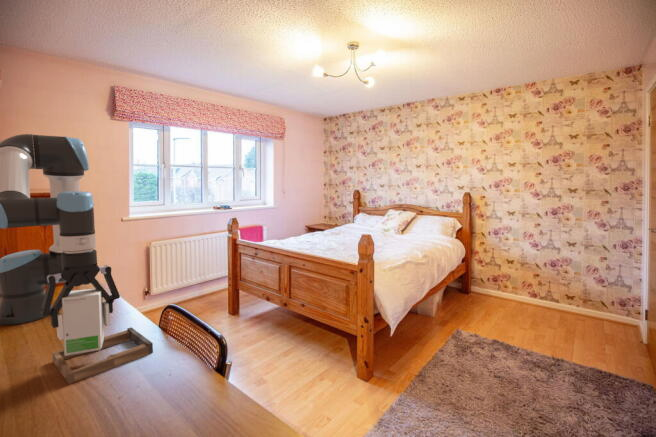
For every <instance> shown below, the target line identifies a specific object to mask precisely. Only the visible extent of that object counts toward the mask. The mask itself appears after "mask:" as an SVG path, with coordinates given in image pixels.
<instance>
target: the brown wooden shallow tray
mask: <svg viewBox="0 0 656 437" xmlns="http://www.w3.org/2000/svg"><path fill="white" fill-rule="evenodd" d="M128 341H132V343H134V344H135V345H136V346H134V347H130V348H129V349H126V350H122V351H120V352H119V351H118V352H117V353H115V354H114V353H113V354H109V355H108V356H107V357H106V358H105V359H102V360H99V361H96V362H93V363H90V364H88V365H85V366H82V367H79V368H76V369H72V368H71V367H70V365H69V364H68V363H67V361H66V360H68V359H70V358H75V357H77V356H80V355H83V354H86V353H88V352H85V353H79V354H73V355H67V356H65V355H64V349H61V350H60V349H59V350H58V351H57V350H56V351H54V352H52V354H51V355H52V362H53V364H54V365H55V366H56V368H57V370H58V371H59V372H60V374H61V375H62V377H63V378H64V380H65V381H66V382H67V383H68V385H69V384H70V385H71V384H73V383H75V382H78V381H81V380H83V379H86V378H89V377H91V376H94V375H96V374H99V373H103V372H105V371H107V370H111V369H113V368H115V367H119V366H121V365H124V364H127V363H128V362H133V361H135V360H137V359H140V358H142V357H145V356H147V355H150V354H153V353H154V348H153V347H154V346H153V342H152V341H151V340H149V339H148V338H146V337H145V336H144V335H142V334H141V333H140V332H139V331H137V330H136V329H134V328H133V327H132V326H131V327H127V328H126V330H123V331H120V332H115V333H113V334H109V335H107V336H104V341H103V344H102V348H101V350H102V349H106V348H109V347H112V346H116V345H118V344H122V343H124V342H128ZM96 352H100V350H97V351H96Z"/></svg>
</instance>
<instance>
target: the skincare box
mask: <svg viewBox="0 0 656 437" xmlns="http://www.w3.org/2000/svg"><path fill="white" fill-rule="evenodd" d="M103 300H104V299H103V297H102V294H101V291H98V290H97V289H95V288H89V289H88V288H87V289H77V290H71V291H70V293H69V295H68V297H64V298H62V308H61V309H62V311H61V312H62V313H61V314H62V323H63V336H64V339H63V350H64V355H65V356H67V355H73V354H79V353H84V354H86V353H85V352H87V353H89V352H90V353H91V352H98V351H97V350H99V351H102V349H101V348H102V344H103V341H104V337H105V336H104V333H105V332H104V323H103V302H104V301H103Z"/></svg>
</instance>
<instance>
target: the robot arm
mask: <svg viewBox="0 0 656 437" xmlns="http://www.w3.org/2000/svg"><path fill="white" fill-rule="evenodd" d="M89 169H90V166H89V159H88V155H87V151H86V147H85V145H84V142H83V141H82V139H80V138H77V137H70V136H69V137H68V136H59V135H58V136H56V135H43V134H41V135H40V134H29V133H22V134H15V135H13V136H10V137H8V138H5V139H3V140H2V141H0V229H3V230H4V229H10V228H11V229H12V228H14V229H15V228H23V227H24V228H25V227H27V228H28V227H43V226H52V232H53V233H52V234H53V244H52V245H51V246H50V247H49V248H48V251H49V252H46V253H45V252H44V253H43V252H42V250H41V249H28V250H23V251H18V252H14V253H13V252H12V253H10V254H7V255H4V256H3V257H1V258H0V325H5V326H6V325H7V326H9V325H11V326H12V325H21V324H26V323H29V322H33V321H36V320H40V319H43V318H45V317H47V316H50V325H51V327H52V328H53V329H55V328H56V337H57V338H58V340H59V341H62V340H64V336H63V313H61V312H60V311H61V309H62V298H64V297H68V295H69V293H70V291H73V289H74V287H80V286H82V285H84V286H85V285H90V284H91V285H92V286H93V287H94V289H97V290H98V291H101V294H102V299H103V300H105V301H103V326H105V327H110V326H111V322H110V321H111V320H110V314H112V313H113V311H114V307H113V303H114V302H115V300H119V299H120V296H121V295H120V293H119V291H118V288H117V286H116V282H115V281H114V277H113V276H112V267H111V266H109V265H108V264H107V265H106V264H105V265H104V266H99V265H98V254H97V249H96V247H97V243H96V242H97V241H96V240H97V239H96V230H95V208H94V207H95V203H94V197H93V194H92V193H91V192H89V191H81V186H80V184H81V182H80V180H81V179H82V178H83V177H85V172H87V171H90V170H89ZM30 170H42V174H43V176H44V177H45V178H47V179H48V181H49V192H50V193H49V194H50V197H31V188H30V172H29V171H30ZM99 273H101V274H102V275H103V277H104V279H105V281H106V285H107V287H108V289H109V292H110V294H109V293H108V292H107V291H106V289H105V288H104V287H103V286H102V285H101V283H100V282H99V281H98V279H97V278H96V277H97V276H98V274H99ZM61 283H64V284H63V286H62V289H61V290H60V292H59V294H58V296H57V297H56V300H55V301H54V303H53V304H52V302H53V299H54V295H55V291H56V287H57V284H61ZM45 286H46V289H45Z"/></svg>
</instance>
